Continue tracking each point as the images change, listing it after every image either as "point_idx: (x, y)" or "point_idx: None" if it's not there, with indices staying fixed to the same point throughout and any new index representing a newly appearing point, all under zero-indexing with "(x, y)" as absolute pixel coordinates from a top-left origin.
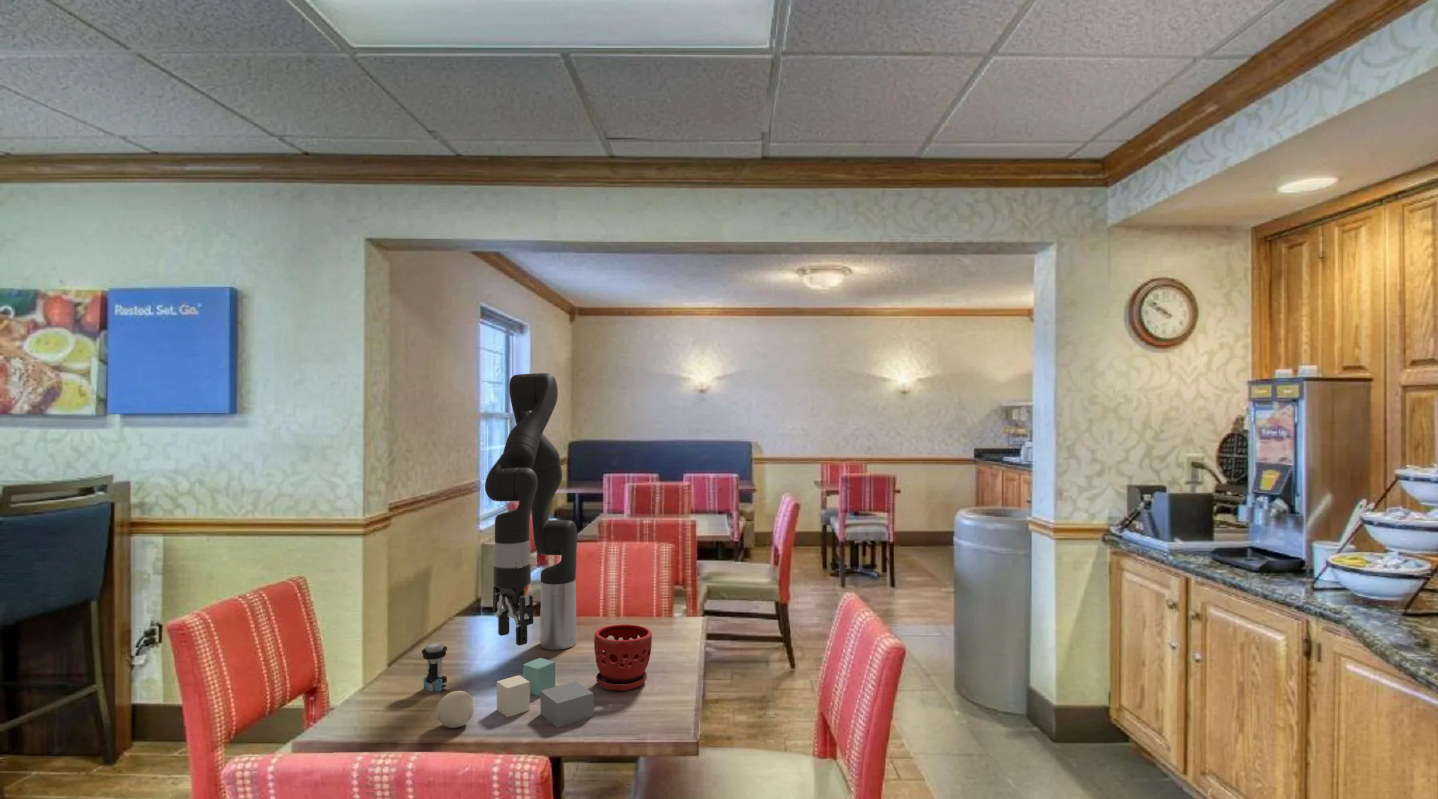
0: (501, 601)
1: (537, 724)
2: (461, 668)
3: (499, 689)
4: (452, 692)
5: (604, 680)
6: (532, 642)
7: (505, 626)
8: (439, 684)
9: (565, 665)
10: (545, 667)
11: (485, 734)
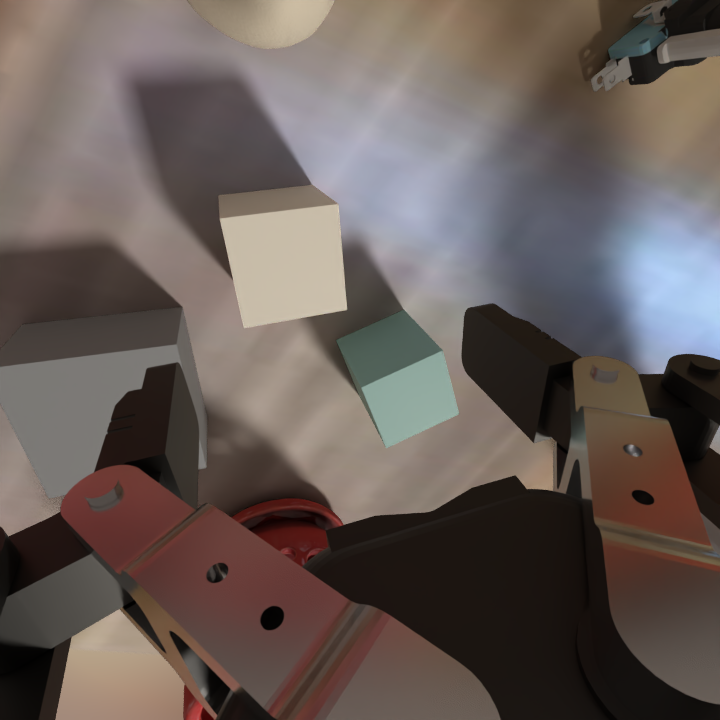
0: (601, 554)
1: (89, 272)
2: (702, 193)
3: (302, 202)
4: None
5: (290, 515)
6: None
7: (494, 372)
8: (632, 42)
9: (484, 449)
10: (371, 411)
11: (81, 47)
